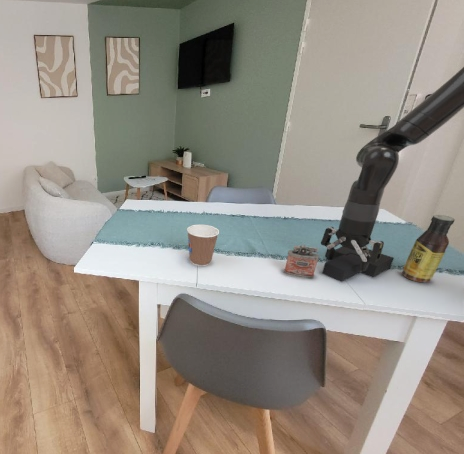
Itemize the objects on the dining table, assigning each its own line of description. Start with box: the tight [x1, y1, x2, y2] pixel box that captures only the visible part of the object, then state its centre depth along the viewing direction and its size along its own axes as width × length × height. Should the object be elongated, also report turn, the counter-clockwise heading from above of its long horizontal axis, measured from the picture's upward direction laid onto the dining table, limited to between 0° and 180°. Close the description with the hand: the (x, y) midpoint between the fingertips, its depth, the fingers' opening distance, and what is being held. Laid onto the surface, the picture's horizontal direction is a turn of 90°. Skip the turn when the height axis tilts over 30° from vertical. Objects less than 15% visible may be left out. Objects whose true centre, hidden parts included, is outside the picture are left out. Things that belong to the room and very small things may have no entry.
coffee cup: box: [186, 224, 220, 267], centre depth 100 cm, size 10×10×12 cm
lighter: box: [283, 244, 320, 280], centre depth 90 cm, size 8×3×10 cm, turn 65°
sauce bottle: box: [402, 214, 456, 283], centre depth 83 cm, size 7×6×20 cm
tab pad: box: [322, 254, 362, 283], centre depth 91 cm, size 6×13×4 cm, turn 116°
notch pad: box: [331, 246, 395, 278], centre depth 94 cm, size 12×10×4 cm
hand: (344, 265), depth 90 cm, fingers open, 8 cm apart
